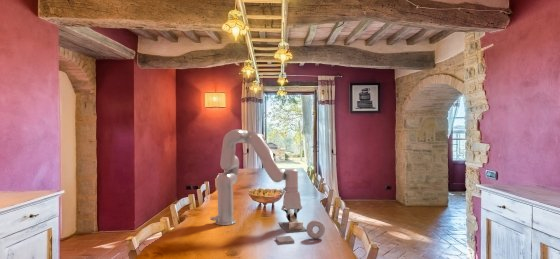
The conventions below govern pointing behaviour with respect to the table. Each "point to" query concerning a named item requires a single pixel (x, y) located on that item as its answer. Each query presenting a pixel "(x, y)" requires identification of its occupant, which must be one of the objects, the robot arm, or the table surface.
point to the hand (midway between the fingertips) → (292, 219)
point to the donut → (320, 232)
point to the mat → (286, 227)
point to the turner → (294, 222)
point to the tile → (284, 240)
